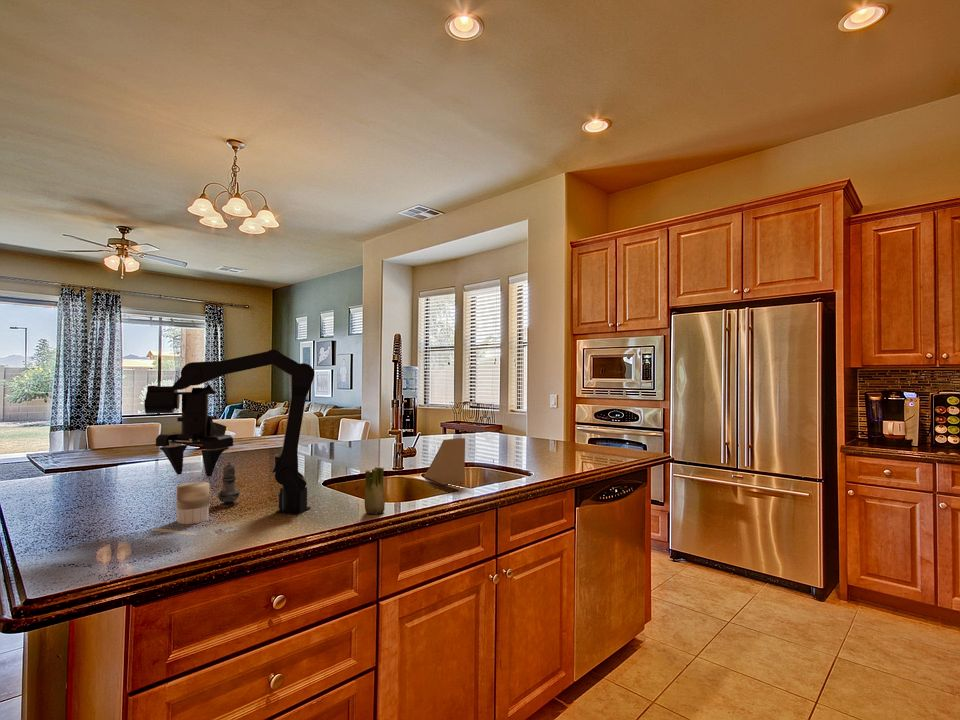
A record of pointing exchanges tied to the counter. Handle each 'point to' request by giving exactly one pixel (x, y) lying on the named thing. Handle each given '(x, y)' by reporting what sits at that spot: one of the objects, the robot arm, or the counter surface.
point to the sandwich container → (448, 462)
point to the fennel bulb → (374, 491)
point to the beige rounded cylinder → (193, 495)
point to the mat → (175, 531)
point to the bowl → (192, 515)
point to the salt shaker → (228, 487)
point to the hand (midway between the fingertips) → (194, 475)
